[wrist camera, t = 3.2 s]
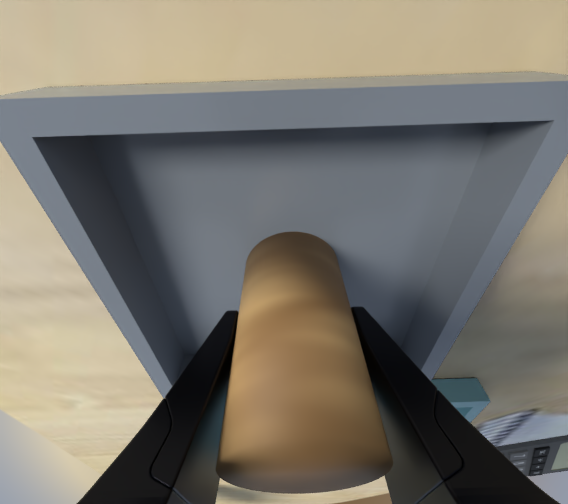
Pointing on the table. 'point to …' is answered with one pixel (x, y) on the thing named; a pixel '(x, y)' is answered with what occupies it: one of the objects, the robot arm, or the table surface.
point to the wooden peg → (299, 378)
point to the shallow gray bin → (290, 192)
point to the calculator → (538, 455)
